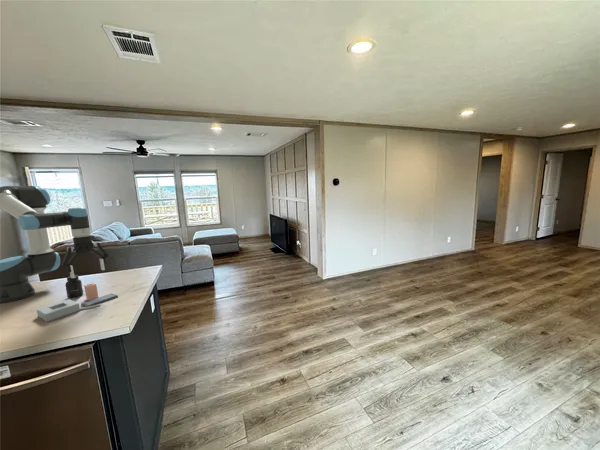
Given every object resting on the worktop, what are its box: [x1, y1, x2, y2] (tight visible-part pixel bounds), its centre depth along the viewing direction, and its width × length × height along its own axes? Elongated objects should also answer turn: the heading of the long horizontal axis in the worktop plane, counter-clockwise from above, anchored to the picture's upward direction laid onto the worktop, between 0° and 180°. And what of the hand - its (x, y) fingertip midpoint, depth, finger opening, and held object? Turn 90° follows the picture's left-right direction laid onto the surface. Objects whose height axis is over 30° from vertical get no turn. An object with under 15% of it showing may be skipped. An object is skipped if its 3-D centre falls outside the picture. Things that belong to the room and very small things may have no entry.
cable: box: [80, 303, 102, 311], centre depth 125 cm, size 8×1×1 cm, turn 121°
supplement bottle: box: [64, 274, 84, 300], centre depth 140 cm, size 7×7×12 cm
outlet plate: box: [36, 298, 81, 323], centre depth 119 cm, size 12×12×4 cm
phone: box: [80, 293, 119, 308], centre depth 132 cm, size 7×14×1 cm, turn 151°
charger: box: [83, 282, 99, 301], centre depth 136 cm, size 4×4×9 cm
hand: (88, 273), depth 135 cm, fingers open, 13 cm apart
